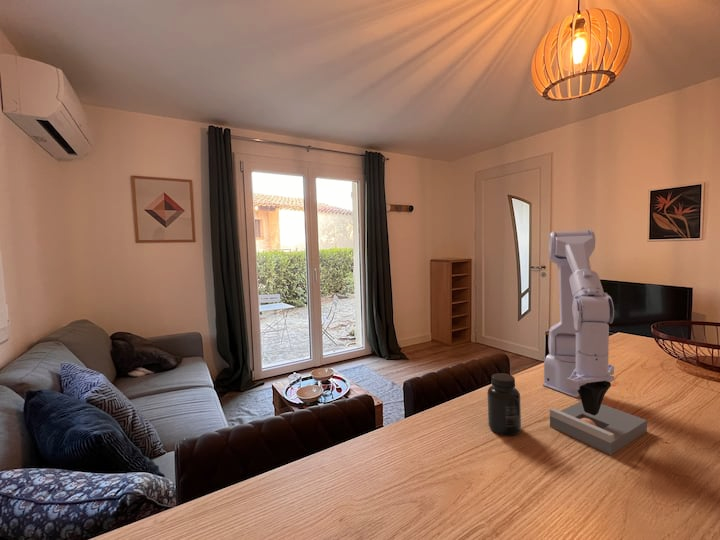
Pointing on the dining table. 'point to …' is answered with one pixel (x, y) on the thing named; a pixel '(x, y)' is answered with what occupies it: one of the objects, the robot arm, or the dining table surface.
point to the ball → (588, 421)
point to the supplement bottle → (504, 405)
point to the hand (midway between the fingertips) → (591, 412)
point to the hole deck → (599, 426)
